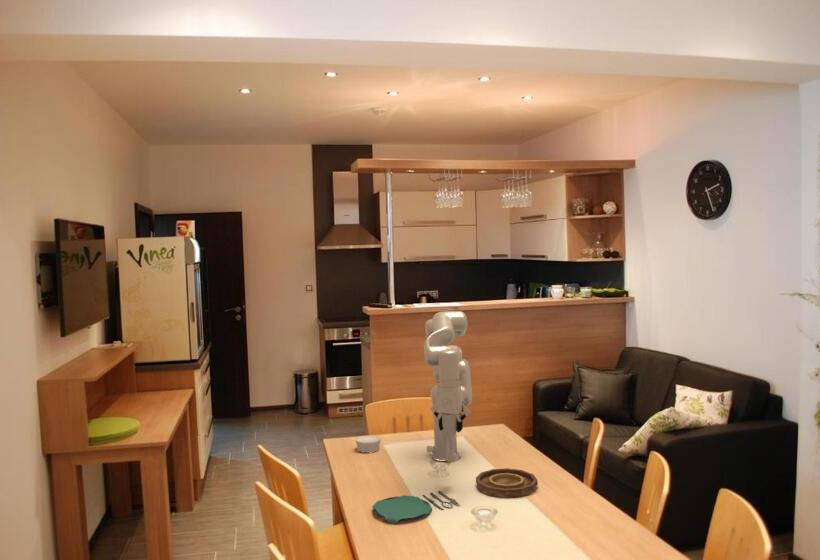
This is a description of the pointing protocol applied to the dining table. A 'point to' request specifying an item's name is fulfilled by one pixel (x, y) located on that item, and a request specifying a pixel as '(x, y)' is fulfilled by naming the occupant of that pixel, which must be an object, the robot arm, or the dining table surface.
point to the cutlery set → (407, 507)
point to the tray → (506, 483)
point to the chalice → (450, 434)
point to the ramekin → (368, 443)
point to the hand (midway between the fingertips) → (450, 430)
